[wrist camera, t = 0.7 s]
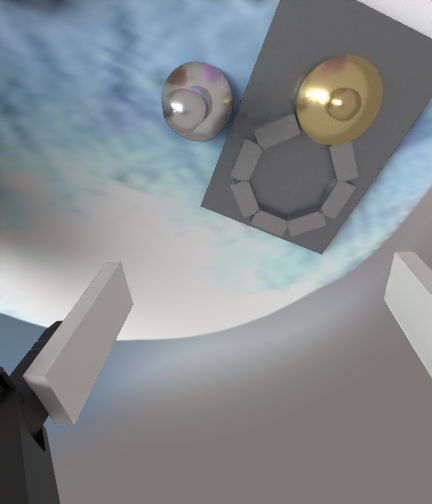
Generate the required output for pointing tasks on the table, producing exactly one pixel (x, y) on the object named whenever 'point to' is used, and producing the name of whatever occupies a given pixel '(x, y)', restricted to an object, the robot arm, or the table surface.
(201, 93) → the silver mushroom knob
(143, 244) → the table surface
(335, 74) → the gold cymbal
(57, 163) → the table surface
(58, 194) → the table surface
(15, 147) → the table surface
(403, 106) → the carrier plate
